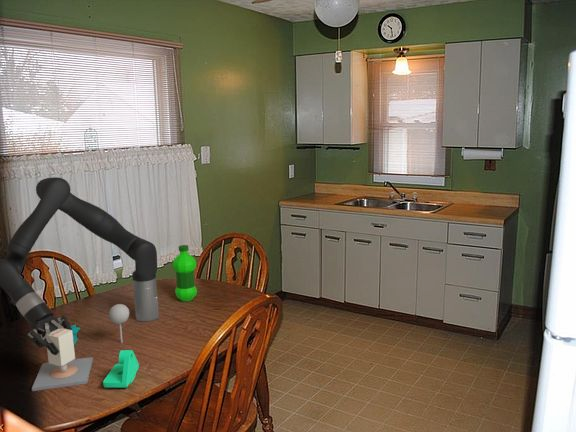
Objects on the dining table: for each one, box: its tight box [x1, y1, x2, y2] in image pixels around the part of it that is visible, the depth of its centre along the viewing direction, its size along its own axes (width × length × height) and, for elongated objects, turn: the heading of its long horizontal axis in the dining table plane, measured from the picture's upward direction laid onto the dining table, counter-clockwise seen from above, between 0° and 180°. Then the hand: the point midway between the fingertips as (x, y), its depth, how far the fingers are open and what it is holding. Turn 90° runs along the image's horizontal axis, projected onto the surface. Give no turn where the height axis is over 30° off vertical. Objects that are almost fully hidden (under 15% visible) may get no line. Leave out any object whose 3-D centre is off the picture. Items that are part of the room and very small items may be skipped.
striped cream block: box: [45, 328, 76, 366], centre depth 164 cm, size 6×6×10 cm
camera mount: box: [102, 349, 140, 388], centre depth 162 cm, size 12×8×10 cm, turn 179°
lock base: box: [31, 356, 94, 392], centre depth 166 cm, size 16×16×6 cm
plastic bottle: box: [172, 244, 198, 302], centre depth 227 cm, size 10×10×25 cm
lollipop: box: [108, 303, 130, 344], centre depth 187 cm, size 7×7×15 cm
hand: (64, 349), depth 164 cm, fingers closed on striped cream block, 5 cm apart
